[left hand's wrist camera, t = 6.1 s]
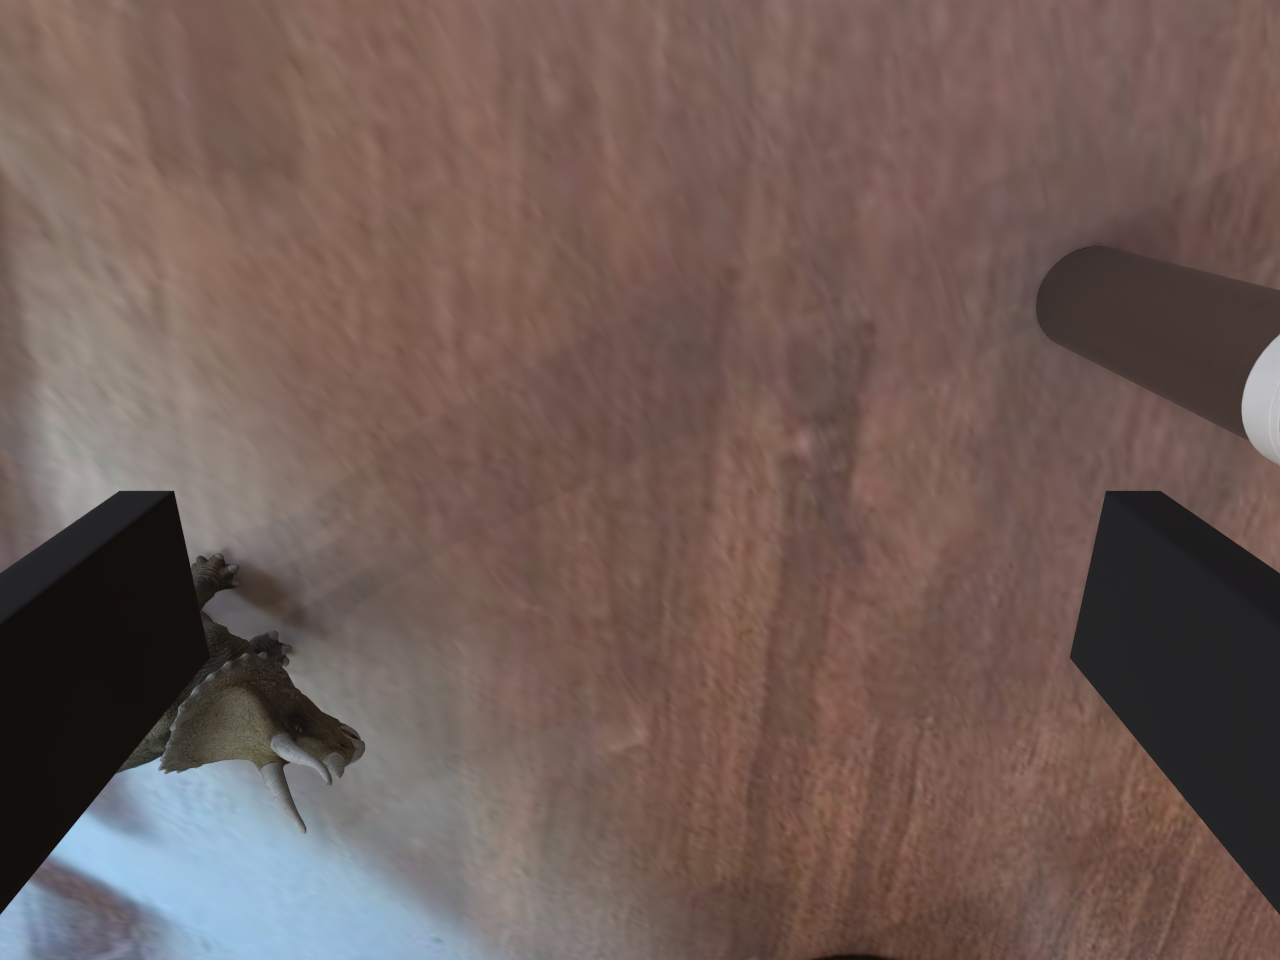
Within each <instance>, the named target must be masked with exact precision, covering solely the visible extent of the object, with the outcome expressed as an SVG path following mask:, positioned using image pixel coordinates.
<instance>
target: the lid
mask: <svg viewBox="0 0 1280 960" xmlns="http://www.w3.org/2000/svg"><path fill="white" fill-rule="evenodd" d="M1242 420H1243V425H1244V428H1245V431H1246V434H1247V436H1248V438H1249V440H1250V442H1251V443H1252V444H1253V446H1254V447H1255V448H1256V449H1257V450H1258V451H1259V452H1260V453H1261V454H1262V455H1263V456H1265V457H1266V458H1267V459H1269V460H1271V461H1272V462H1274V463H1276V464H1278V465H1280V335H1279V336H1277V337H1276V338H1275V339H1274V340H1273V341H1272V342H1271V343H1270V345H1269V346H1268V347H1267V348H1266V349H1265V350H1264V352H1263V353H1262V354H1261V356H1260V357H1259V358H1258V360H1257V361H1256V363H1255V365H1254V367H1253V368H1252V370H1251V372H1250V375H1249V377H1248V379H1247V382H1246V385H1245V389H1244V392H1243V398H1242Z"/></svg>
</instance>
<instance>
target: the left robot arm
mask: <svg viewBox="0 0 1280 960" xmlns="http://www.w3.org/2000/svg"><path fill="white" fill-rule="evenodd" d="M209 658H210V655H209V650H208V645H207V641H206V636H205V632H204V627H203V622H202V618H201V613H200V609H199V604H198V599H197V595H196V590H195V586H194V581H193V576H192V572H191V567H190V563H189V558H188V553H187V549H186V544H185V539H184V535H183V530H182V526H181V521H180V516H179V512H178V507H177V503H176V498H175V493H174V491H119V492H117V493H116V494H114V495H113V496H112V497H110V498H109V499H107V500H106V501H104V502H103V503H101V504H100V505H99V506H97V507H96V508H94V509H93V510H91V511H90V512H88V513H87V514H86V515H84V516H83V517H81V518H80V519H78V520H77V521H75V522H74V523H72V524H71V525H70V526H68V527H67V528H65V529H64V530H62V531H61V532H59V533H58V534H57V535H55V536H54V537H52V538H51V539H49V540H48V541H46V542H45V543H44V544H42V545H41V546H39V547H38V548H36V549H35V550H33V551H32V552H31V553H29V554H28V555H26V556H25V557H23V558H22V559H20V560H19V561H17V562H16V563H15V564H13V565H12V566H10V567H9V568H7V569H6V570H4V571H3V572H2V573H0V914H1V913H2V912H3V911H4V909H5V908H6V907H7V906H8V905H9V903H10V902H11V901H12V900H13V898H14V897H15V896H16V895H17V894H18V892H19V891H20V890H21V889H22V887H23V886H24V885H25V884H26V883H27V881H28V880H29V879H30V878H31V876H32V875H33V874H34V873H35V872H36V870H37V869H38V868H39V867H40V865H41V864H42V863H43V862H44V860H45V859H46V858H47V857H48V856H49V854H50V853H51V852H52V851H53V849H54V848H55V847H56V846H57V845H58V843H59V842H60V841H61V840H62V838H63V837H64V836H65V835H66V834H67V832H68V831H69V830H70V829H71V827H72V826H73V825H74V824H75V823H76V821H77V820H78V819H79V818H80V816H81V815H82V814H83V813H84V812H85V810H86V809H87V808H88V807H89V805H90V804H91V803H92V802H93V801H94V799H95V798H96V797H97V796H98V794H99V793H100V792H101V791H102V789H103V788H104V787H105V786H106V785H107V783H108V782H109V781H110V780H111V778H112V777H113V776H114V775H115V774H116V772H117V771H118V770H119V769H120V767H121V766H122V765H123V764H124V763H125V761H126V760H127V759H128V758H129V756H130V755H131V754H132V753H133V752H134V750H135V749H136V748H137V747H138V745H139V744H140V743H141V742H142V741H143V739H144V738H145V737H146V736H147V734H148V733H149V732H150V731H151V729H152V728H153V727H154V726H155V725H156V723H157V722H158V721H159V720H160V718H161V717H162V716H163V715H164V714H165V712H166V711H167V710H168V709H169V707H170V706H171V705H172V704H173V703H174V701H175V700H176V699H177V698H178V696H179V695H180V694H181V693H182V692H183V690H184V689H185V688H186V687H187V685H188V684H189V683H190V682H191V681H192V679H193V678H194V677H195V676H196V674H197V673H198V672H199V671H200V670H201V668H202V667H203V666H204V665H205V663H206V662H207V661H208V660H209ZM1070 658H1071V660H1072V661H1073V662H1074V663H1075V665H1076V666H1077V667H1078V668H1079V670H1080V671H1081V672H1082V673H1083V674H1084V676H1085V677H1086V678H1087V679H1088V681H1089V682H1090V683H1091V684H1092V685H1093V687H1094V688H1095V689H1096V690H1097V692H1098V693H1099V694H1100V695H1101V696H1102V698H1103V699H1104V700H1105V701H1106V703H1107V704H1108V705H1109V706H1110V707H1111V709H1112V710H1113V711H1114V712H1115V714H1116V715H1117V716H1118V717H1119V718H1120V720H1121V721H1122V722H1123V723H1124V725H1125V726H1126V727H1127V728H1128V729H1129V731H1130V732H1131V733H1132V734H1133V736H1134V737H1135V738H1136V739H1137V741H1138V742H1139V743H1140V744H1141V745H1142V747H1143V748H1144V749H1145V750H1146V752H1147V753H1148V754H1149V755H1150V756H1151V758H1152V759H1153V760H1154V761H1155V763H1156V764H1157V765H1158V766H1159V767H1160V769H1161V770H1162V771H1163V772H1164V774H1165V775H1166V776H1167V777H1168V778H1169V780H1170V781H1171V782H1172V783H1173V785H1174V786H1175V787H1176V788H1177V789H1178V791H1179V792H1180V793H1181V794H1182V796H1183V797H1184V798H1185V799H1186V801H1187V802H1188V803H1189V804H1190V805H1191V807H1192V808H1193V809H1194V810H1195V812H1196V813H1197V814H1198V815H1199V816H1200V818H1201V819H1202V820H1203V821H1204V823H1205V824H1206V825H1207V826H1208V827H1209V829H1210V830H1211V831H1212V832H1213V834H1214V835H1215V836H1216V837H1217V838H1218V840H1219V841H1220V842H1221V843H1222V845H1223V846H1224V847H1225V848H1226V849H1227V851H1228V852H1229V853H1230V854H1231V856H1232V857H1233V858H1234V859H1235V860H1236V862H1237V863H1238V864H1239V865H1240V867H1241V868H1242V869H1243V870H1244V872H1245V873H1246V874H1247V875H1248V876H1249V878H1250V879H1251V880H1252V881H1253V883H1254V884H1255V885H1256V886H1257V887H1258V889H1259V890H1260V891H1261V892H1262V894H1263V895H1264V896H1265V897H1266V898H1267V900H1268V901H1269V902H1270V903H1271V905H1272V906H1273V907H1274V908H1275V909H1276V911H1277V912H1278V913H1279V914H1280V573H1278V572H1277V571H1276V570H1274V569H1273V568H1271V567H1270V566H1268V565H1267V564H1265V563H1264V562H1263V561H1261V560H1260V559H1258V558H1257V557H1255V556H1254V555H1252V554H1251V553H1249V552H1248V551H1247V550H1245V549H1244V548H1242V547H1241V546H1239V545H1238V544H1236V543H1235V542H1234V541H1232V540H1231V539H1229V538H1228V537H1226V536H1225V535H1223V534H1222V533H1221V532H1219V531H1218V530H1216V529H1215V528H1213V527H1212V526H1210V525H1209V524H1208V523H1206V522H1205V521H1203V520H1202V519H1200V518H1199V517H1197V516H1196V515H1194V514H1193V513H1192V512H1190V511H1189V510H1187V509H1186V508H1184V507H1183V506H1181V505H1180V504H1179V503H1177V502H1176V501H1174V500H1173V499H1171V498H1170V497H1168V496H1167V495H1166V494H1164V493H1163V492H1161V491H1106V493H1105V498H1104V503H1103V507H1102V512H1101V516H1100V521H1099V526H1098V530H1097V535H1096V539H1095V544H1094V549H1093V553H1092V558H1091V562H1090V567H1089V572H1088V576H1087V581H1086V586H1085V590H1084V595H1083V599H1082V604H1081V609H1080V613H1079V618H1078V622H1077V627H1076V632H1075V636H1074V641H1073V645H1072V650H1071V655H1070ZM829 960H880V959H872V958H837V959H829Z"/></svg>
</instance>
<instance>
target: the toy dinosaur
mask: <svg viewBox="0 0 1280 960" xmlns="http://www.w3.org/2000/svg"><path fill="white" fill-rule="evenodd" d="M191 569H192V573H193V581H194V586H195V590H196V595H197V599H198V604H199V609H200V613H201V618H202V622H203V627H204V632H205V636H206V641H207V645H208V650H209V655H210V658H209V660H208V661H207V662H206V663H205V665H204V666H203V667H202V668H201V670H200V671H199V672H198V673H197V674H196V676H195V677H194V678H193V679H192V681H191V682H190V683H189V684H188V685H187V687H186V688H185V689H184V690H183V692H182V693H181V694H180V695H179V696H178V698H177V699H176V700H175V701H174V703H173V704H172V705H171V706H170V707H169V709H168V710H167V711H166V712H165V714H164V715H163V716H162V717H161V718H160V720H159V721H158V722H157V723H156V725H155V726H154V727H153V728H152V729H151V731H150V732H149V733H148V734H147V736H146V737H145V738H144V739H143V741H142V742H141V743H140V744H139V745H138V747H137V748H136V749H135V750H134V752H133V753H132V754H131V755H130V756H129V758H128V759H127V760H126V761H125V763H124V764H123V765H122V766H121V767H120V769H119V770H118V771H117V772H116V773H119V772H122V771H124V770H127V769H131V768H135V767H138V766H140V765H143V764H146V763H149V762H151V761H153V760H155V759H157V758H159V757H161V756H162V757H161V759H160V761H162V763H161V765H160V766H159V768H158V771H160V770H164V769H166V770H165V772H164V774H167V773H170V772H172V771H175V770H177V773H180V772H182V771H185V770H187V769H189V768H198V767H200V766H202V765H203V764H207V763H214V762H218V761H222V760H231V759H243V760H250V761H252V762H253V763H254V764H255V765H256V766H257V768H258V770H259V771H260V772H261V774H262V776H263V779H264V781H265V784H266V786H267V788H268V790H269V792H270V794H271V796H272V798H273V800H274V801H275V803H276V804H277V806H278V807H279V809H280V810H281V811H282V812H283V813H284V814H285V815H286V816H287V817H288V818H289V819H290V820H291V822H292V823H293V824H294V825H295V826H296V827H297V828H298V829H299V830H300V831H301V832H302V833H304V834H305V833H306V826H305V824H304V822H303V820H302V818H301V817H300V815H299V813H298V811H297V809H296V806H295V804H294V802H293V799H292V796H291V794H290V791H289V788H288V785H287V782H286V778H285V775H284V771H283V766H284V765H286V764H288V763H290V762H292V763H295V764H300V765H305V766H310V767H312V768H314V769H316V770H317V771H318V772H319V773H320V774H321V775H322V777H323V778H324V780H325V782H326V784H327V786H328V787H332V778H331V775H330V773H331V774H332V775H333V777H334V778H336V779H339V778H340V777H341V776H342V775H343V773H344V768H345V766H347V765H349V764H351V763H354V762H355V761H357V760H359V759H360V758H361V757H362V755H363V753H364V751H365V743H364V741H361V739H360V736H359V735H358V733H357V732H356V731H355V730H354V729H353V728H351V727H349V726H348V725H346V724H343V723H340V722H339V720H338V719H336V718H333V717H331V716H329V715H327V714H325V713H323V712H322V711H321V710H320V709H319V708H318V707H317V706H316V705H315V704H314V703H313V702H312V701H311V700H310V699H309V698H308V697H307V696H305V695H304V694H302V693H301V692H300V690H298V689H297V688H295V686H294V685H293V683H292V681H291V679H290V677H289V675H288V673H287V672H286V671H285V670H284V669H283V668H282V666H287V665H288V664H289V659H288V658H287V656H286V654H287V653H289V652H290V651H291V647H290V646H289V645H286V644H283V643H279V642H278V632H276V631H271V632H267V633H265V634H264V635H259V636H256V637H254V638H253V639H252V640H251V641H250V642H248V641H247V640H245V639H242V638H240V637H237V636H235V635H232V634H230V633H229V631H228V629H227V628H226V627H224V626H221V625H219V624H217V623H214V622H213V621H212V620H211V618H210V617H209V616H208V615H207V614H206V613H204V612H202V611H201V610H202V608H203V606H204V605H205V604H206V602H207V601H209V600H210V599H211V598H212V597H213V596H214V594H215V593H216V592H218V591H221V590H224V589H231V588H235V587H237V586H238V585H239V582H238V581H237V580H236V579H235V578H234V577H233V575H234V574H235V573H236V572H237V571H238V569H239V566H238V565H233V564H230V565H226V564H225V561H224V556H223V555H222V554H219V553H216V554H215V555H214V556H213V557H211V558H210V560H209V561H208V560H207V559H206V558H205V557H203V556H198V557H197V561H196V563H194V564H192V567H191Z"/></svg>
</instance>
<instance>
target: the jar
mask: <svg viewBox="0 0 1280 960" xmlns="http://www.w3.org/2000/svg"><path fill="white" fill-rule="evenodd" d="M1036 309H1037V317H1038V321H1039V323H1040V326H1041V328H1042V330H1043V331H1044V333H1045V334H1046V335H1047V336H1048V337H1049V338H1050V339H1051V340H1052V341H1054V342H1055V343H1057V344H1059V345H1061V346H1063V347H1065V348H1067V349H1069V350H1071V351H1073V352H1075V353H1077V354H1079V355H1081V356H1083V357H1085V358H1087V359H1089V360H1091V361H1093V362H1094V363H1096V364H1098V365H1100V366H1102V367H1104V368H1106V369H1108V370H1110V371H1112V372H1114V373H1116V374H1118V375H1120V376H1122V377H1124V378H1126V379H1128V380H1130V381H1132V382H1134V383H1136V384H1138V385H1140V386H1142V387H1144V388H1146V389H1148V390H1150V391H1152V392H1153V393H1155V394H1157V395H1159V396H1161V397H1163V398H1165V399H1167V400H1169V401H1171V402H1173V403H1175V404H1177V405H1179V406H1181V407H1183V408H1185V409H1187V410H1189V411H1191V412H1193V413H1195V414H1197V415H1199V416H1201V417H1203V418H1205V419H1207V420H1209V421H1211V422H1213V423H1214V424H1216V425H1218V426H1220V427H1222V428H1224V429H1226V430H1228V431H1230V432H1232V433H1234V434H1236V435H1238V436H1240V437H1242V438H1244V439H1246V440H1248V441H1250V440H1249V438H1248V436H1247V434H1246V431H1245V428H1244V425H1243V420H1242V398H1243V392H1244V389H1245V385H1246V382H1247V379H1248V377H1249V375H1250V372H1251V370H1252V368H1253V367H1254V365H1255V363H1256V361H1257V360H1258V358H1259V357H1260V356H1261V354H1262V353H1263V352H1264V350H1265V349H1266V348H1267V347H1268V346H1269V345H1270V343H1271V342H1272V341H1273V340H1274V339H1275V338H1276V337H1277V336H1279V335H1280V290H1277V289H1273V288H1269V287H1265V286H1261V285H1257V284H1253V283H1249V282H1245V281H1241V280H1237V279H1233V278H1229V277H1225V276H1221V275H1217V274H1213V273H1208V272H1204V271H1200V270H1196V269H1192V268H1188V267H1184V266H1180V265H1176V264H1172V263H1168V262H1164V261H1160V260H1156V259H1152V258H1148V257H1144V256H1140V255H1136V254H1132V253H1128V252H1124V251H1120V250H1116V249H1112V248H1107V247H1088V248H1084V249H1081V250H1078V251H1075V252H1073V253H1071V254H1069V255H1068V256H1066V257H1065V258H1063V259H1062V260H1060V261H1059V262H1058V263H1057V264H1056V265H1055V266H1054V267H1053V268H1052V269H1051V270H1050V272H1049V273H1048V274H1047V276H1046V277H1045V279H1044V280H1043V282H1042V285H1041V287H1040V290H1039V293H1038V297H1037V306H1036Z"/></svg>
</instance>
